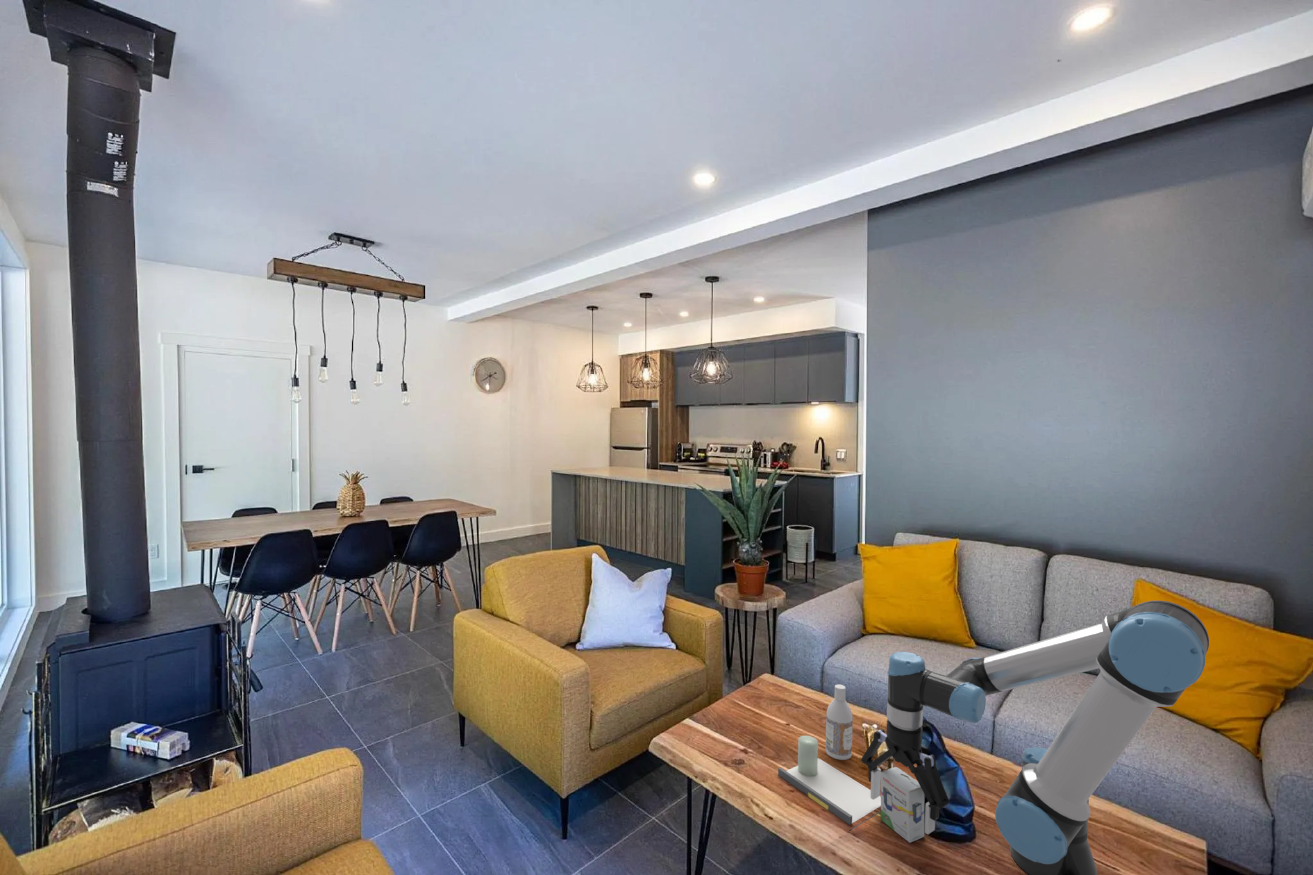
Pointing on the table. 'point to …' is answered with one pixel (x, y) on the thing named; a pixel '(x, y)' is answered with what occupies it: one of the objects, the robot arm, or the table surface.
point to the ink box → (902, 804)
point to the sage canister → (807, 756)
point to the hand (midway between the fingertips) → (901, 813)
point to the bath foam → (839, 726)
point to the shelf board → (834, 792)
